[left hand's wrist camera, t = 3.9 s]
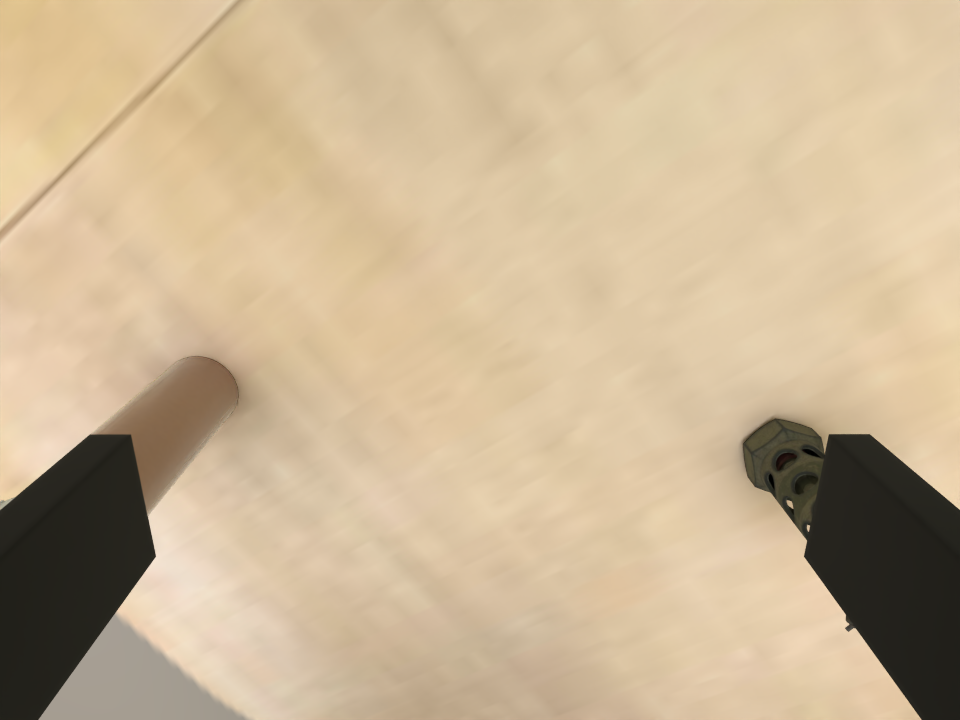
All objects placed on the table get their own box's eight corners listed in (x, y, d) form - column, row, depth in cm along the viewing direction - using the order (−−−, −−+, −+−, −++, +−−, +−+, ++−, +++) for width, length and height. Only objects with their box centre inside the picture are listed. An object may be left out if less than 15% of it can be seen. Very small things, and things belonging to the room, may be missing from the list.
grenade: (768, 516, 46) (896, 697, 32) (715, 461, 44) (825, 627, 30) (880, 434, 43) (1071, 590, 29) (829, 374, 42) (1004, 508, 28)
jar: (244, 368, 42) (91, 538, 25) (231, 431, 44) (78, 631, 27) (170, 347, 42) (-36, 506, 25) (159, 412, 43) (-41, 602, 26)
